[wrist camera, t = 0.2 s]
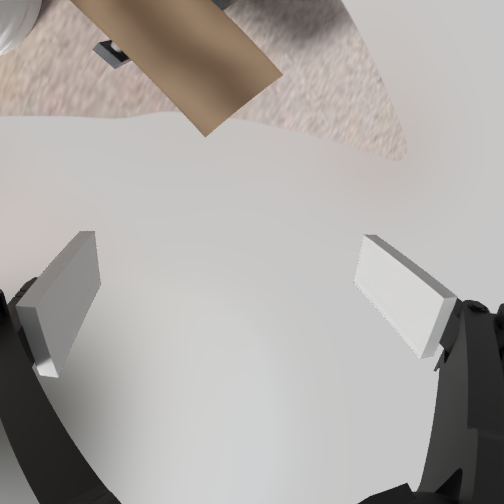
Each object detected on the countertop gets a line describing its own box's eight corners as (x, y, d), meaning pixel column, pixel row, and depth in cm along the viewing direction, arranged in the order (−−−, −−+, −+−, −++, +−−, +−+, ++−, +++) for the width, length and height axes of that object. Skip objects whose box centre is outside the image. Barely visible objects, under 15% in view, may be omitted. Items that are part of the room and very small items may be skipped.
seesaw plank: (121, -76, 15) (112, -84, 13) (286, 71, 24) (288, 70, 22) (54, -13, 18) (43, -16, 16) (204, 137, 27) (199, 142, 25)
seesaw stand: (181, -38, 23) (174, -59, 15) (227, 5, 28) (236, -2, 20) (105, 30, 27) (74, 34, 19) (151, 70, 31) (134, 86, 24)
